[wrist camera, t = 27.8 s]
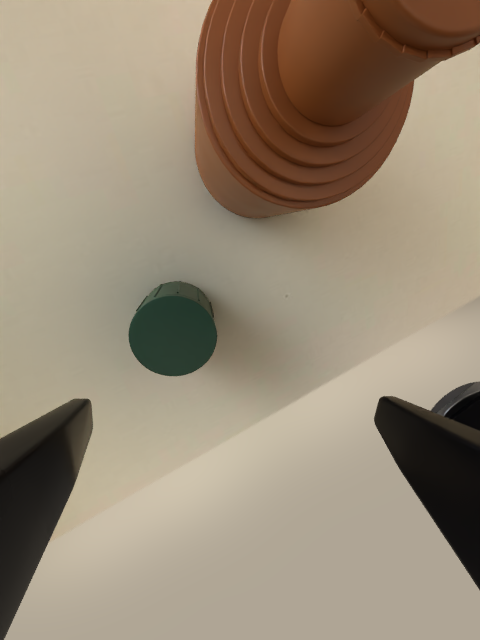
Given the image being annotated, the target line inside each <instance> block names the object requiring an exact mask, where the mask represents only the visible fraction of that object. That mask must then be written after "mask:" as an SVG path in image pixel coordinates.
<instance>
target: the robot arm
mask: <svg viewBox="0 0 480 640" xmlns="http://www.w3.org/2000/svg"><path fill="white" fill-rule="evenodd" d="M374 421H375V425H376V427H377V429H378V431H379V433H380V434H381V436H382V438H383V440H384V442H385V444H386V445H387V447H388V449H389V451H390V452H391V455H392V456H393V458H394V460H395V462H396V464H397V465H398V467H399V469H400V470H401V472H402V473H403V475H404V477H405V478H406V479H407V481H408V483H409V484H410V486H411V487H412V489H413V490H414V492H415V493H416V495H417V496H418V498H419V499H420V501H421V502H422V504H423V505H424V507H425V508H426V510H427V511H428V513H429V514H430V516H431V517H432V519H433V520H434V522H435V523H436V525H437V526H438V528H439V529H440V531H441V532H442V534H443V535H444V537H445V538H446V540H447V541H448V543H449V544H450V546H451V547H452V549H453V550H454V552H455V553H456V555H457V557H458V558H459V560H460V561H461V563H462V564H463V565H464V567H465V569H466V570H467V571H468V573H469V575H470V576H471V578H472V579H473V581H474V582H475V584H476V585H477V587H478V588H479V590H480V395H478V396H477V397H476V398H474V399H473V400H472V401H470V402H469V403H468V404H467V405H465V406H464V407H463V408H461V409H460V410H459V411H457V412H456V413H455V414H453V415H452V416H451V417H449V418H447V417H444V416H442V415H439V414H437V413H434V412H432V411H429V410H426V409H424V408H422V407H419V406H416V405H414V404H412V403H409V402H407V401H404V400H402V399H399V398H396V397H393V396H383V397H381V398H380V399H379V402H378V406H377V409H376V413H375V417H374ZM92 429H93V418H92V405H91V401H90V400H89V399H73V400H71V401H69V402H67V403H65V404H64V405H62V406H60V407H58V408H56V409H54V410H52V411H51V412H49V413H47V414H45V415H43V416H41V417H40V418H38V419H36V420H34V421H32V422H30V423H28V424H27V425H25V426H23V427H21V428H19V429H17V430H16V431H14V432H12V433H10V434H8V435H6V436H4V437H3V438H1V439H0V640H4V638H5V636H6V634H7V632H8V629H9V627H10V625H11V623H12V621H13V618H14V616H15V614H16V612H17V610H18V608H19V606H20V603H21V601H22V599H23V597H24V595H25V592H26V590H27V588H28V586H29V583H30V581H31V579H32V577H33V575H34V573H35V570H36V568H37V566H38V564H39V562H40V560H41V557H42V555H43V553H44V551H45V548H46V546H47V544H48V542H49V540H50V538H51V536H52V533H53V531H54V529H55V527H56V525H57V522H58V520H59V518H60V516H61V514H62V512H63V509H64V507H65V505H66V503H67V501H68V498H69V496H70V494H71V492H72V489H73V487H74V484H75V481H76V479H77V476H78V473H79V470H80V467H81V464H82V461H83V458H84V455H85V452H86V449H87V446H88V443H89V440H90V437H91V434H92Z"/></svg>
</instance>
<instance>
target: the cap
mask: <svg viewBox="0 0 480 640" xmlns="http://www.w3.org/2000/svg"><path fill="white" fill-rule="evenodd" d="M136 311H137V313H136V314H135V316H134V317H133V319H132V322H131V324H130V328H129V343H130V347H131V349H132V352H133V354H134V355H135V357H136V358H137V360H138V361H139V362H140V363H141V364H142V365H143V366H145V367H146V368H147V369H149V370H151V371H153V372H155V373H158V374H161V375H165V376H181V375H186V374H189V373H192V372H194V371H196V370H197V369H199V368H200V367H202V366H203V365H204V364H205V363H206V362H207V361H208V360H209V359H210V357H211V356H212V354H213V352H214V349H215V346H216V342H217V330H216V326H215V321H214V315H213V310H212V306H211V302H209V300H208V298H207V297H206V296H205V294H204V293H203V292H202V291H201V290H200V289H199V288H197V287H195V286H193V285H191V284H188V283H185V282H181V281H180V282H169V283H165V284H163V285H162V284H161V285H160V286H159V287H157V288H156V289H154V290H153V291H152V292H151V293H150V294H149V296H146V298H145V299H144V300H143V302H142V303H141V305H140V306H139V307H138V309H137V310H136Z"/></svg>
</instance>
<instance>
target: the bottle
mask: <svg viewBox="0 0 480 640" xmlns="http://www.w3.org/2000/svg"><path fill="white" fill-rule="evenodd" d="M479 43H480V0H212V2H211V4H210V6H209V9H208V12H207V14H206V17H205V20H204V23H203V26H202V30H201V34H200V38H199V43H198V50H197V58H196V104H195V155H196V162H197V166H198V170H199V173H200V176H201V178H202V180H203V182H204V184H205V186H206V188H207V189H208V191H209V192H210V194H211V195H212V196H213V197H214V198H215V200H216V201H218V202H219V203H220V204H221V205H222V206H223V207H225V208H226V209H228V210H229V211H231V212H233V213H235V214H238V215H241V216H244V217H249V218H265V217H270V216H276V215H281V214H286V213H292V212H297V211H302V210H308V209H313V208H318V207H322V206H327V205H330V204H332V203H335V202H338V201H340V200H342V199H344V198H345V197H347V196H349V195H351V194H352V193H354V192H355V191H356V190H358V189H359V188H361V187H362V186H363V185H364V184H365V183H366V182H367V181H368V180H369V179H371V178H372V176H373V175H374V174H375V173H376V172H377V171H378V169H379V168H380V167H381V166H382V164H383V163H384V161H385V160H386V158H387V157H388V155H389V154H390V152H391V150H392V148H393V146H394V144H395V143H396V141H397V138H398V136H399V134H400V132H401V130H402V127H403V125H404V122H405V120H406V116H407V113H408V110H409V107H410V102H411V97H412V92H413V86H414V80H415V79H416V78H417V77H419V76H420V75H422V74H423V73H425V72H426V71H428V70H429V69H431V68H432V67H433V66H435V65H436V64H438V63H439V62H441V61H444V60H447V59H449V58H451V57H454V56H456V55H458V54H461V53H463V52H465V51H467V50H470V49H471V48H473V47H474V46H476V45H477V44H479Z"/></svg>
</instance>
